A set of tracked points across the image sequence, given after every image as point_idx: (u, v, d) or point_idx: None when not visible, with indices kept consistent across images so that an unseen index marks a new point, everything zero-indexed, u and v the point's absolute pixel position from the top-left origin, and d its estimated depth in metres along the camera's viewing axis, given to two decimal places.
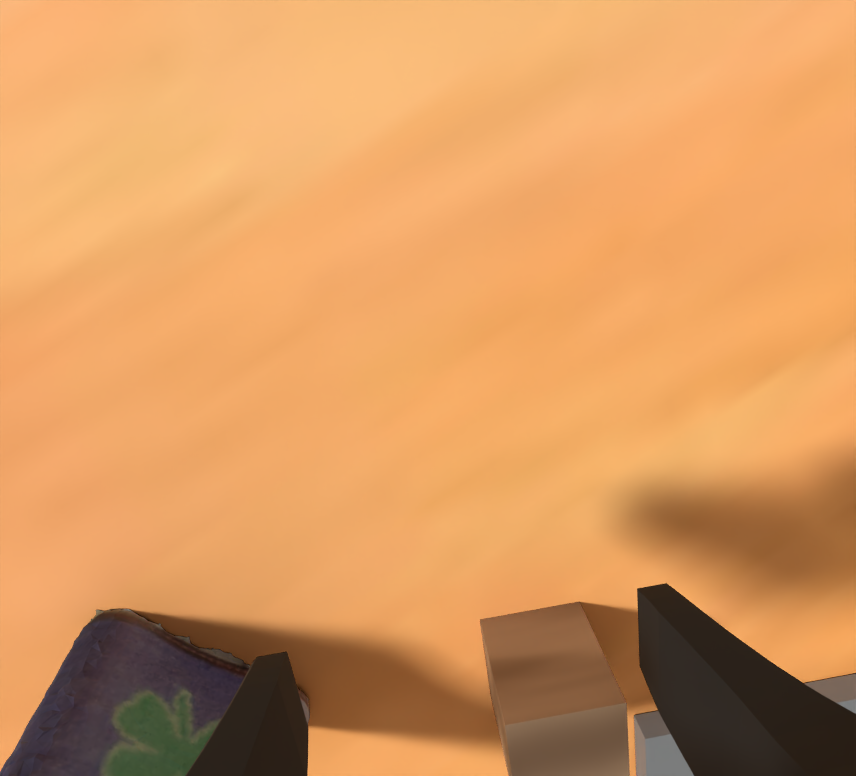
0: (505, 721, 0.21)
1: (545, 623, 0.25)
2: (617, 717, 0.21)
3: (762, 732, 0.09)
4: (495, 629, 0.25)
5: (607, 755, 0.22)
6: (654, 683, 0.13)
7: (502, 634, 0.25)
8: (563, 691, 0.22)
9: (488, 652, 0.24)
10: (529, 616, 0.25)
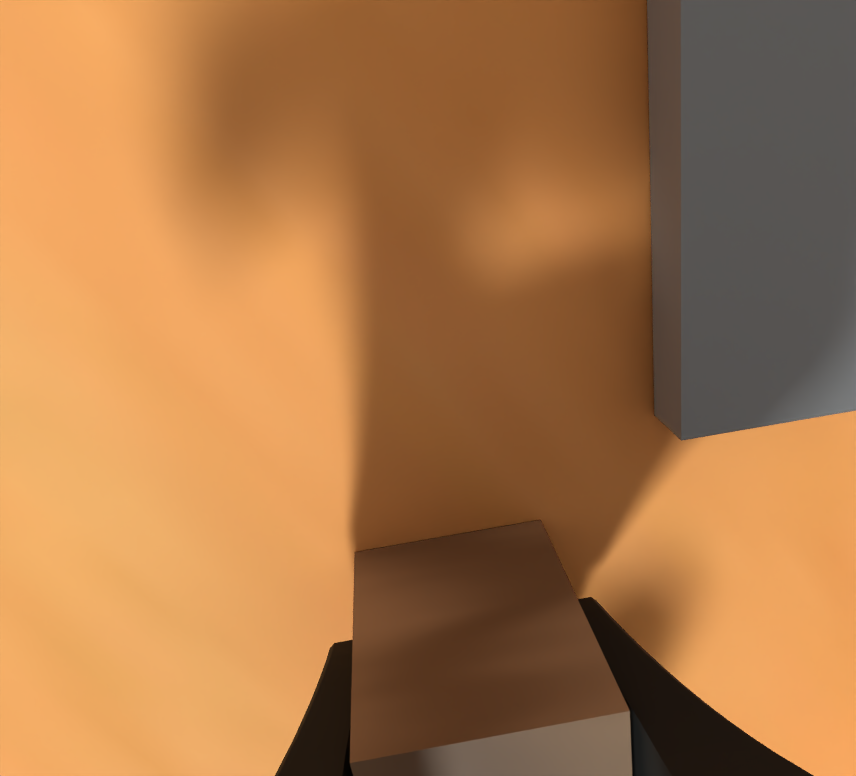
0: None
1: None
2: (394, 771, 0.09)
3: (654, 752, 0.09)
4: None
5: (509, 770, 0.09)
6: None
7: None
8: None
9: None
10: None
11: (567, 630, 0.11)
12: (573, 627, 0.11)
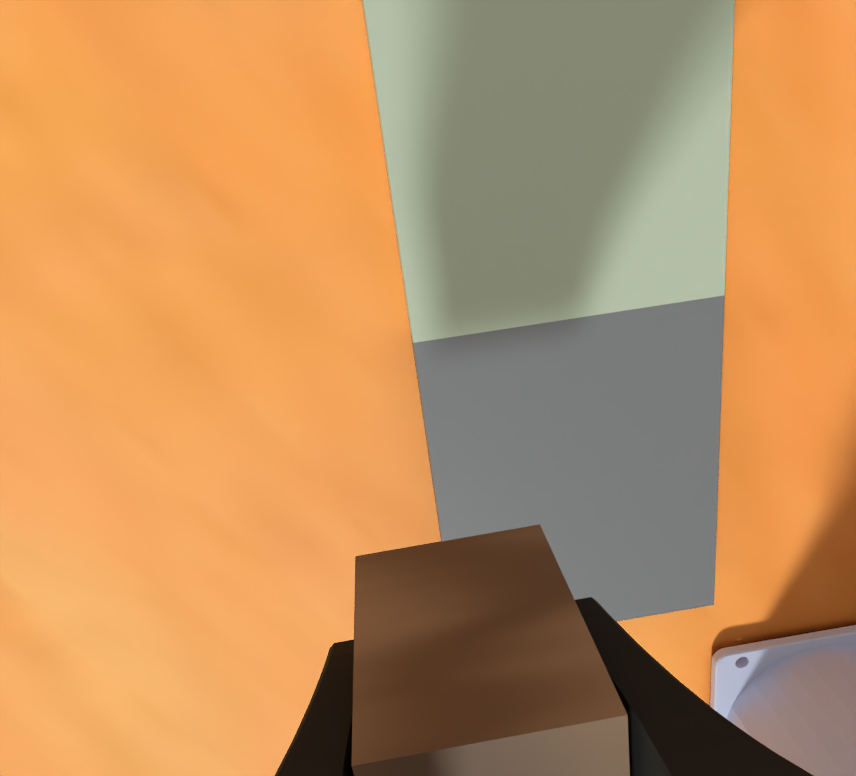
0: None
1: None
2: (395, 774, 0.09)
3: (654, 752, 0.09)
4: None
5: (509, 774, 0.10)
6: None
7: None
8: None
9: None
10: None
11: (567, 635, 0.11)
12: (572, 631, 0.11)
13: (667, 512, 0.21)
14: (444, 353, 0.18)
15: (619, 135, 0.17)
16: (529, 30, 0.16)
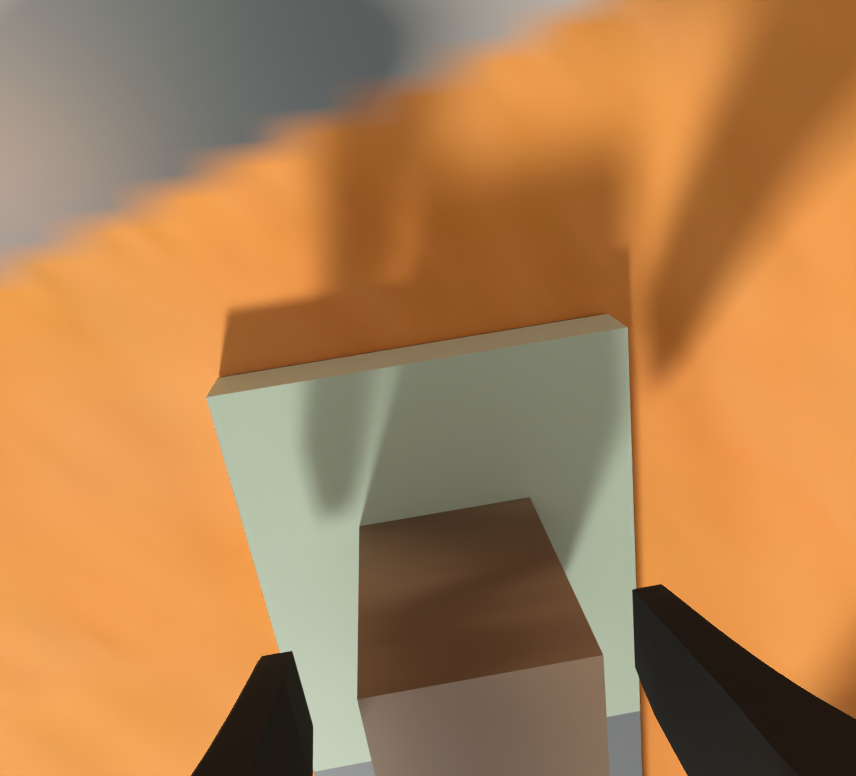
0: None
1: None
2: (395, 707, 0.10)
3: (755, 733, 0.09)
4: None
5: (497, 708, 0.11)
6: (649, 684, 0.13)
7: None
8: None
9: None
10: None
11: (551, 590, 0.12)
12: (556, 587, 0.12)
13: None
14: None
15: None
16: (416, 513, 0.15)
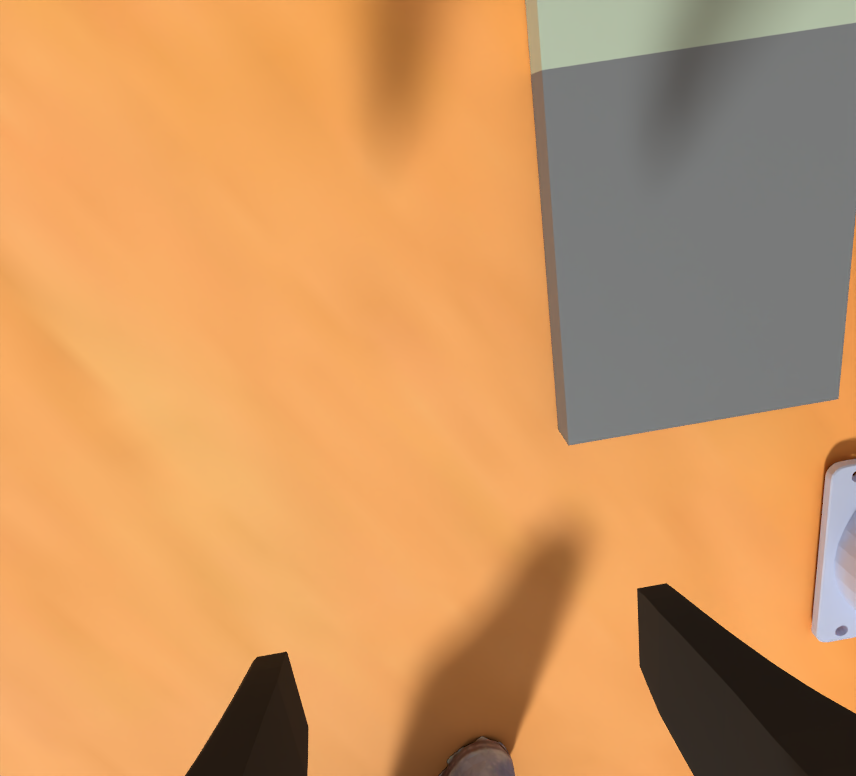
0: None
1: None
2: None
3: (762, 732, 0.09)
4: None
5: None
6: (654, 683, 0.13)
7: None
8: None
9: None
10: None
11: None
12: None
13: (797, 285, 0.20)
14: (574, 84, 0.17)
15: None
16: None
